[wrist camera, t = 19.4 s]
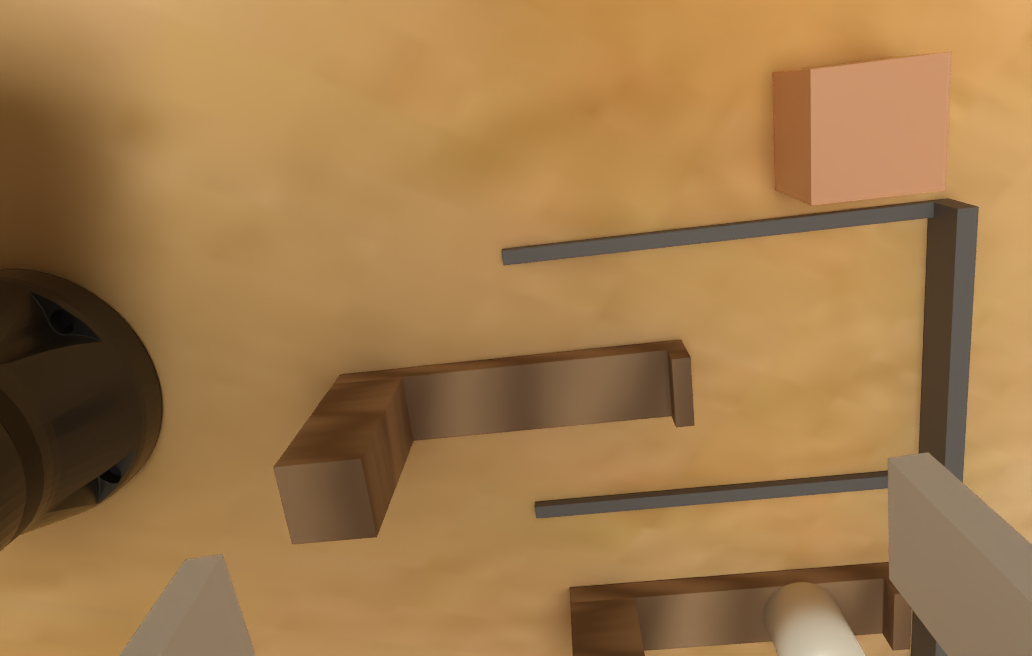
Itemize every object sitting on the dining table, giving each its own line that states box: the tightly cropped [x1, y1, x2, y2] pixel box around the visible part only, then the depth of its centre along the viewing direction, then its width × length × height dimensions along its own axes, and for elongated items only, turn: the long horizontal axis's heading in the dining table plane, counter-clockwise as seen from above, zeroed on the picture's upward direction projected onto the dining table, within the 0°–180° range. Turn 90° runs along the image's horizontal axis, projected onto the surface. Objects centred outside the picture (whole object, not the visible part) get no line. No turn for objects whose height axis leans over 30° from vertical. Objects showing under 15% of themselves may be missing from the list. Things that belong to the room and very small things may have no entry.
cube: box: [773, 52, 952, 206], centre depth 37 cm, size 6×6×6 cm
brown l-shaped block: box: [274, 340, 694, 544], centre depth 39 cm, size 20×4×12 cm, turn 97°
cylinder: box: [764, 582, 865, 656], centre depth 44 cm, size 4×4×5 cm
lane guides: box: [502, 199, 979, 656], centre depth 44 cm, size 24×31×3 cm
